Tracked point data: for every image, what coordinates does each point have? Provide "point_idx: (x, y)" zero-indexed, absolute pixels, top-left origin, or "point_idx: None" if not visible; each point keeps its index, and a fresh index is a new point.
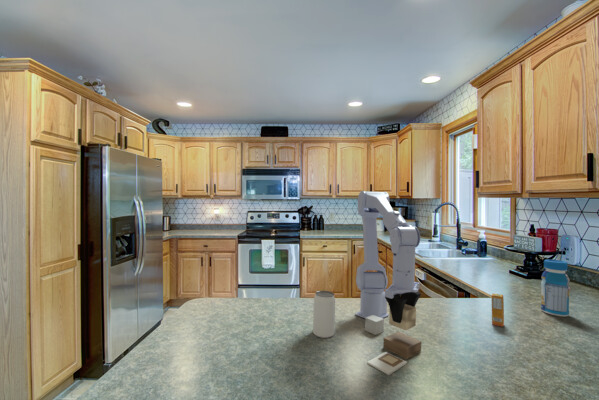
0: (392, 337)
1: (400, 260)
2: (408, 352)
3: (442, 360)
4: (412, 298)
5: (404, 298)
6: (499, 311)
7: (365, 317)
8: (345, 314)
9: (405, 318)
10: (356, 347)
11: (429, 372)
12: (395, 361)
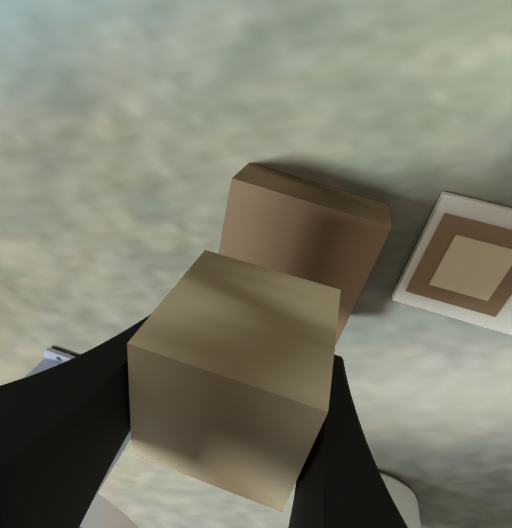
0: None
1: None
2: (369, 209)
3: (271, 26)
4: (64, 446)
5: (93, 473)
6: None
7: None
8: None
9: (330, 357)
10: (412, 396)
11: (480, 51)
12: (485, 243)
